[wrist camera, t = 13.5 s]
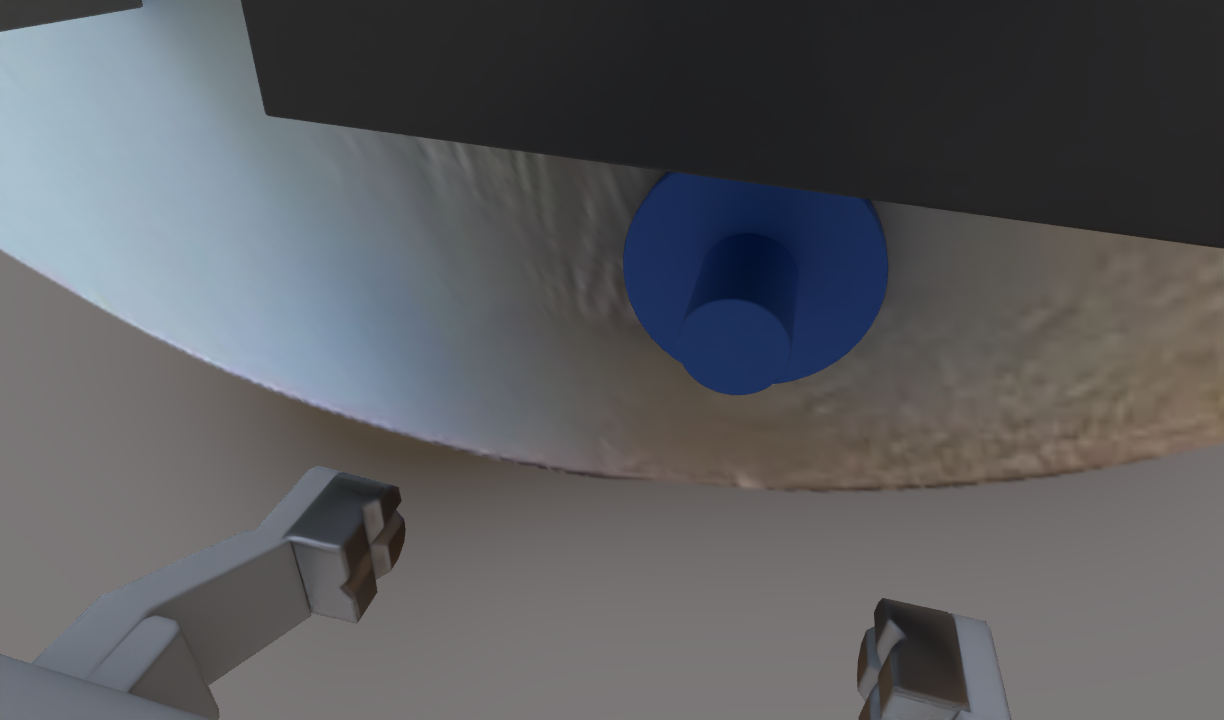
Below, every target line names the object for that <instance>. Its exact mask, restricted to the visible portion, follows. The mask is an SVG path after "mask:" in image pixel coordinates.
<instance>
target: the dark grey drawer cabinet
mask: <svg viewBox="0 0 1224 720" xmlns="http://www.w3.org/2000/svg"><path fill="white" fill-rule="evenodd" d="M241 3H242V7H243V12H244V17H245V21H246V26H247V31H248V35H249V40H250V45H251V49H252V54H253V59H254V63H255V68H256V73H257V77H258V82H259V87H260V91H261V96H262V101H263V105H264V110H265V113H266V115H268V116H272V117H280V118H287V119H294V120H301V121H308V122H316V123H323V124H330V125H337V126H344V127H352V128H359V129H366V130H373V131H380V132H388V133H395V134H402V135H409V136H416V137H423V138H431V139H438V140H445V141H452V142H459V143H467V144H474V145H481V146H488V147H495V148H503V149H510V150H517V151H524V152H531V153H539V154H546V155H553V156H560V157H567V158H575V159H582V160H589V161H596V162H603V163H610V164H618V165H625V166H632V167H639V168H646V169H654V170H661V171H668V172H675V173H682V174H690V175H697V176H704V177H711V178H718V179H726V180H733V181H740V182H747V183H754V184H762V185H769V186H776V187H783V188H790V189H798V190H805V191H812V192H819V193H826V194H833V195H841V196H848V197H855V198H862V199H869V200H877V201H884V202H891V203H898V204H905V205H913V206H920V207H927V208H934V209H941V210H949V211H956V212H963V213H970V214H977V215H985V216H992V217H999V218H1006V219H1013V220H1021V221H1028V222H1035V223H1042V224H1049V225H1056V226H1064V227H1071V228H1078V229H1085V230H1092V231H1100V232H1107V233H1114V234H1121V235H1128V236H1136V237H1143V238H1150V239H1157V240H1164V241H1172V242H1179V243H1186V244H1193V245H1200V246H1208V247H1215V248H1224V0H241Z"/></svg>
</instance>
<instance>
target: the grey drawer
mask: <svg viewBox="0 0 1224 720" xmlns="http://www.w3.org/2000/svg"><path fill="white" fill-rule="evenodd" d="M141 7H143V3H142V0H0V32H2V31H8V30H13V29H19V28H25V27H31V26H37V25H42V24H48V23H54V22H60V21H66V20H72V19H77V18H83V17H89V16H95V15H101V14H107V13H112V12H118V11H124V10H130V9H136V8H141Z"/></svg>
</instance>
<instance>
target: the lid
mask: <svg viewBox="0 0 1224 720" xmlns="http://www.w3.org/2000/svg"><path fill="white" fill-rule="evenodd" d="M623 272H624V279H625V286H626V289H627V293H628V296H629V300H630V302H631V305H632V307H633V309H634V311H635V314H636V316H637V317H638V319H639V321H640V322H641V324H642V326H643V327H644V329H645V330H646V331H647V332H648V334H649V335H650V336H651V338H652V339H653V340H654V341H655V342H656V343H657V344H658V345H659V346H660V347H661V348H662V349H663V350H664V351H666V352H667V353H668V354H669V355H671V356H672V357H673V358H674V359H676V360H677V361H679V362H681V363H682V364H683V366H684V367H685V369H686V370H687V371H688V373H689V374H690V375H691V376H692V377H693V378H694V379H695V380H696V381H698V382H699V383H700V384H702V385H703V386H705V387H707V388H709V389H711V390H714V391H716V392H720V393H724V394H730V395H746V394H752V393H756V392H759V391H761V390H764V389H766V388H767V387H769V386H771V385H772V384H778V383H783V382H789V381H793V380H797V379H800V378H803V377H806V376H809V375H811V374H814V373H816V372H818V371H820V370H823V369H824V368H826V367H828V366H829V365H831V364H833V363H835V362H836V361H838V360H839V359H840V358H841V357H843V356H844V355H845V354H847V353H848V352H849V351H850V350H851V349H852V348H853V347H854V346H855V345H856V344H857V343H858V342H859V341H860V340H861V339H862V338H863V336H864V335H865V334H866V332H867V331H868V330H869V328H870V327H871V325H872V323H873V321H874V320H875V318H876V316H877V314H878V312H879V310H880V307H881V304H882V302H883V299H884V295H885V291H886V286H887V278H888V258H887V248H886V241H885V237H884V233H883V229H882V225H881V222H880V220H879V217H878V215H877V213H876V210H875V208H874V207H873V205H872V203H871V202H870V200H869V199H862V198H855V197H848V196H841V195H833V194H826V193H819V192H812V191H805V190H798V189H790V188H783V187H776V186H769V185H762V184H754V183H747V182H740V181H733V180H726V179H718V178H711V177H704V176H697V175H690V174H682V173H675V172H667V173H666V174H665V175H664V176H662V177H661V178H660V179H659V180H658V182H657V183H656V184H655V185H654V186H653V187H652V189H651V190H650V191H649V192H648V194H647V196H646V197H645V199H644V200H643V202H642V204H641V205H640V207H639V208H638V210H637V212H636V214H635V216H634V218H633V220H632V222H631V225H630V227H629V231H628V234H627V238H626V241H625V248H624V255H623Z"/></svg>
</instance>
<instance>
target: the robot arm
mask: <svg viewBox="0 0 1224 720" xmlns="http://www.w3.org/2000/svg"><path fill="white" fill-rule="evenodd" d="M400 502H401V497H400V492H399V487H396V486H394V485H390V484H386V483H382V482H379V481H375V480H371V479H367V478H363V477H360V476H356V475H352V474H348V473H344V472H339V471H335V470H331V469H327V468H323V467H319V466H316V467H315V468H312V469H310V470H309V471H307V472H306V474H305V475H304V476H303V477H302V478H301V479H300V480H299V481H298V482H297V484H296V485H295V486H294V487H293V488H292V489H291V490H290V491H289V493H288V494H287V495H286V496H285V497H284V498H283V500H281V502H280V503H279V504H278V505H277V506H276V507H275V508H274V509H273V511H272V512H271V513H270V514H269V515H268V516H267V518H265V520H264V521H263V522H262V523H261V524H260V525H259V527H258V528H257V529H256V530H255V531H249V530H245V531H243V532H240V533H238V534H236V535H234V536H232V537H229V538H227V539H225V540H223V541H221V542H218V543H216V544H214V545H212V546H210V547H207V548H205V549H203V550H201V551H199V552H196V553H194V554H192V555H190V556H188V557H185V558H183V559H181V560H179V561H177V562H174V563H172V564H170V565H168V566H166V567H164V568H161V569H159V570H157V571H155V572H153V573H150V574H148V575H146V576H144V577H141V578H139V579H137V580H135V581H133V582H131V583H128V584H126V585H124V586H122V587H119V588H117V589H115V590H113V591H111V592H108V593H106V594H104V595H102V596H100V597H99V598H98V599H97V600H96V601H95V602H94V603H92V604H91V605H90V606H89V608H87V609H86V610H85V611H84V612H83V613H82V614H81V615H80V616H79V617H78V618H77V619H76V620H75V621H74V622H73V623H72V624H71V625H70V626H69V627H68V628H67V629H66V630H65V631H64V632H63V633H62V634H61V635H60V636H59V637H58V638H57V639H56V640H55V641H54V642H53V643H52V644H51V645H50V646H49V647H48V648H47V649H45V651H44V652H43V653H42V654H40V655H39V656H38V657H37V658H36V659H35V660H34V661H33V662H32V663H28V662H24V661H21V660H18V659H14V658H11V657H8V656H5V655H1V654H0V720H218V719H219V717H220V716H219V708H218V706H217V704H216V702H215V700H214V697H213V695H212V693H211V691H210V689H209V687H208V685H209V684H211V683H213V682H214V681H216V680H217V679H218V678H220V677H221V676H223V675H225V674H226V673H228V672H229V671H230V670H232V669H233V668H235V667H236V666H238V665H239V664H241V663H242V662H244V661H245V660H247V659H248V658H249V657H251V656H253V655H254V654H256V653H257V652H259V651H260V650H261V649H263V648H264V647H266V646H267V645H269V644H270V643H272V642H273V641H275V640H276V639H278V638H279V637H280V636H282V635H284V634H285V633H286V632H288V631H290V630H291V629H292V628H294V627H295V626H297V625H298V624H300V623H301V622H303V621H304V620H306V619H307V618H309V617H310V616H311V613H314V614H318V615H322V616H327V617H331V618H335V619H340V620H343V621H347V622H352V623H356V624H357V623H358V622H359V620H360V619H361V617H362V615H363V614H364V612H365V611H366V609H367V608H368V606H369V605H370V603H371V601H372V600H373V598H374V597H375V595H376V593H377V586H376V579H378V578H380V577H381V576H383V575H385V574H387V573H389V572H390V571H391V570H392V568H393V566H394V565H395V563H396V561H397V560H398V558H399V555H400V552H401V550H402V547H403V544H404V538H405V522H404V518H403V517H402V516H401V515H400V514H399V513H398V511H397V510H396V508H397V507H398V505H399V504H400ZM874 621H875V627H872V628H870V629H868V630H867V631H866V633H865V636H864V638H863V641H862V643H861V648H860V653H859V658H858V671H857V682H858V683H857V685H858V692H859V693H860V694H861V696H862V697H863V699H864V700H865V705H864V707H863V709H862V711H861V714H860V716H859V720H1011V716H1010V712H1009V707H1008V703H1007V699H1006V695H1005V690H1004V685H1003V681H1002V677H1001V673H1000V668H999V664H998V659H997V655H996V651H995V646H994V642H993V638H992V633H991V629H990V627H989V626H988V624H987V623H986V621H982V620H977V619H973V618H969V617H964V616H960V615H956V614H949V613H948V612H944V611H940V610H935V609H931V608H926V607H921V606H917V605H913V604H908V603H903V602H899V601H894V600H890V599H885V598H882V599H881V600H880V601H879V603H878V605H877V607H876V609H875V612H874Z"/></svg>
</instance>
